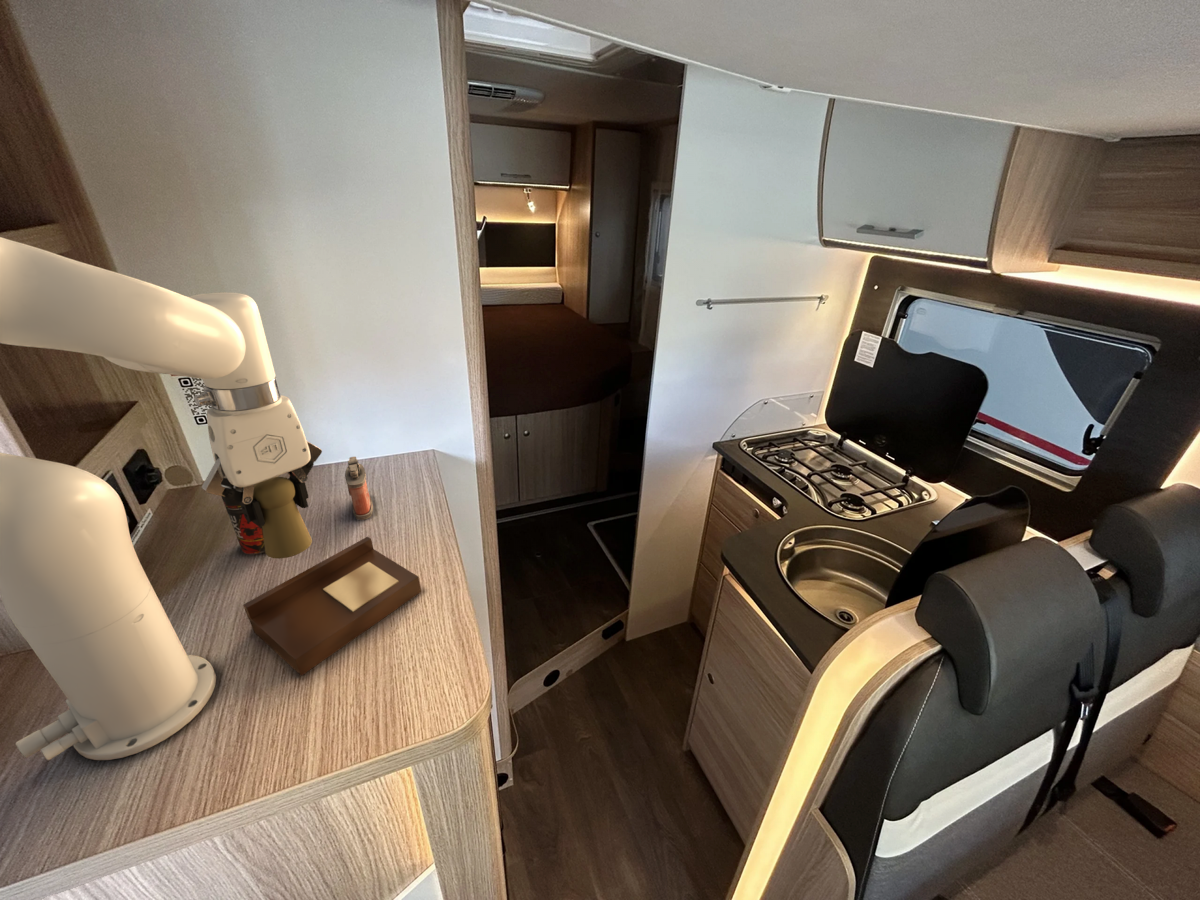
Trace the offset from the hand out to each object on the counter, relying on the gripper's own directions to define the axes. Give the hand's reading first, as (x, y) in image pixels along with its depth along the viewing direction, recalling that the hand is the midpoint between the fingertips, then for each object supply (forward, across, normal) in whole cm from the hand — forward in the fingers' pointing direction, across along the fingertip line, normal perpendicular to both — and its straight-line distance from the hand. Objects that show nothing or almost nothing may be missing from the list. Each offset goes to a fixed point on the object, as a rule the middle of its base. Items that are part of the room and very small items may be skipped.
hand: (279, 512), depth 71 cm
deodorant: (+12, +1, +13) cm, 18 cm away
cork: (+6, 0, 0) cm, 6 cm away
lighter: (+12, +17, +9) cm, 23 cm away
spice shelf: (+12, 0, -12) cm, 17 cm away
